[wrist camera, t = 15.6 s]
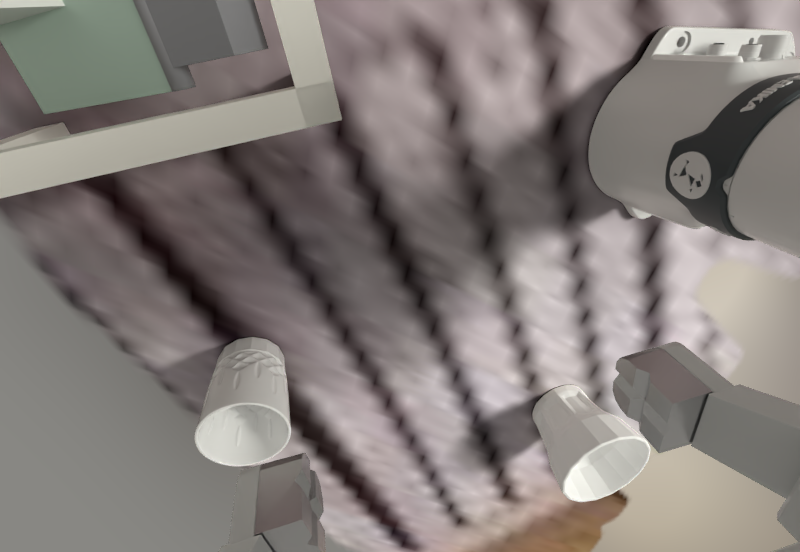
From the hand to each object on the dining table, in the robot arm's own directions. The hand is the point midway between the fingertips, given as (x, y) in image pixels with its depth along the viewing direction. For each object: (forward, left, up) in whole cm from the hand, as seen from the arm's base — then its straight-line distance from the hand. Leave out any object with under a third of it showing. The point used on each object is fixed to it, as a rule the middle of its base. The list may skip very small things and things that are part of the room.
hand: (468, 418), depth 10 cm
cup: (-22, +43, -30) cm, 58 cm away
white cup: (+15, +19, -30) cm, 39 cm away
